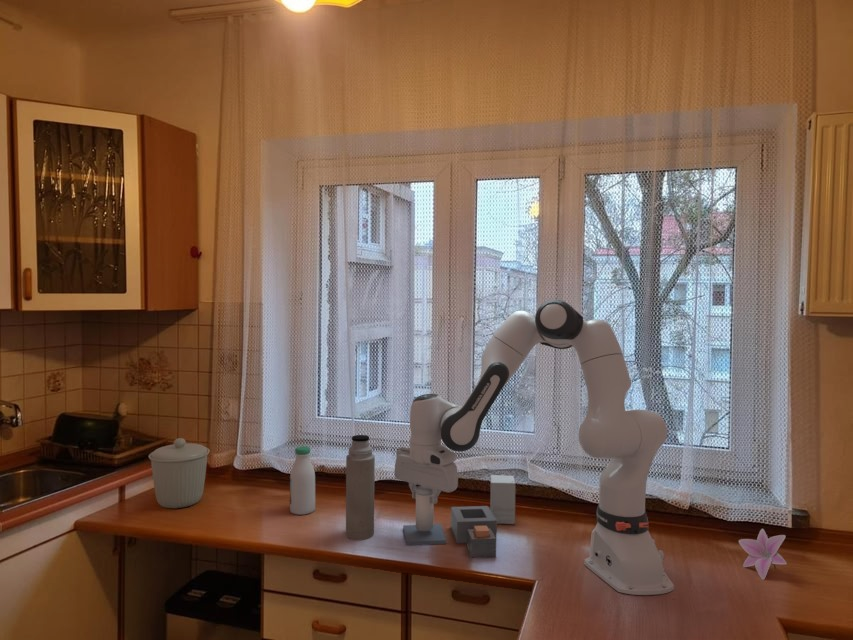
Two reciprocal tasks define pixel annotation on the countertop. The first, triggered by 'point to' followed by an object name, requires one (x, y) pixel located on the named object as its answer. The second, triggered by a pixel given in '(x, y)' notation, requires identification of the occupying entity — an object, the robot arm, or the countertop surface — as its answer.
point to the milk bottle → (302, 483)
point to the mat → (424, 535)
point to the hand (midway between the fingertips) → (424, 500)
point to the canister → (179, 473)
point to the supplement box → (503, 499)
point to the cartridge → (424, 508)
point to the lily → (763, 552)
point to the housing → (471, 520)
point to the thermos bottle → (360, 489)
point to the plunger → (481, 531)
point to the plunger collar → (481, 545)
